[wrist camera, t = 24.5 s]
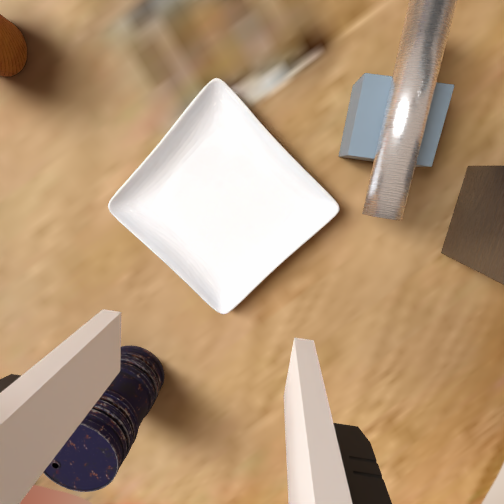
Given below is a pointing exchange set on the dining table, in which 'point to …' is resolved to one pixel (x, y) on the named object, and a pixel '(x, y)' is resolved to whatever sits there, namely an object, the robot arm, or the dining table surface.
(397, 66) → the axle
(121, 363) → the dark blue ridged cylinder
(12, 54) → the disposable coffee cup
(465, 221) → the slotted grey block
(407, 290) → the dining table surface
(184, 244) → the salad plate
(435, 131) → the v block
